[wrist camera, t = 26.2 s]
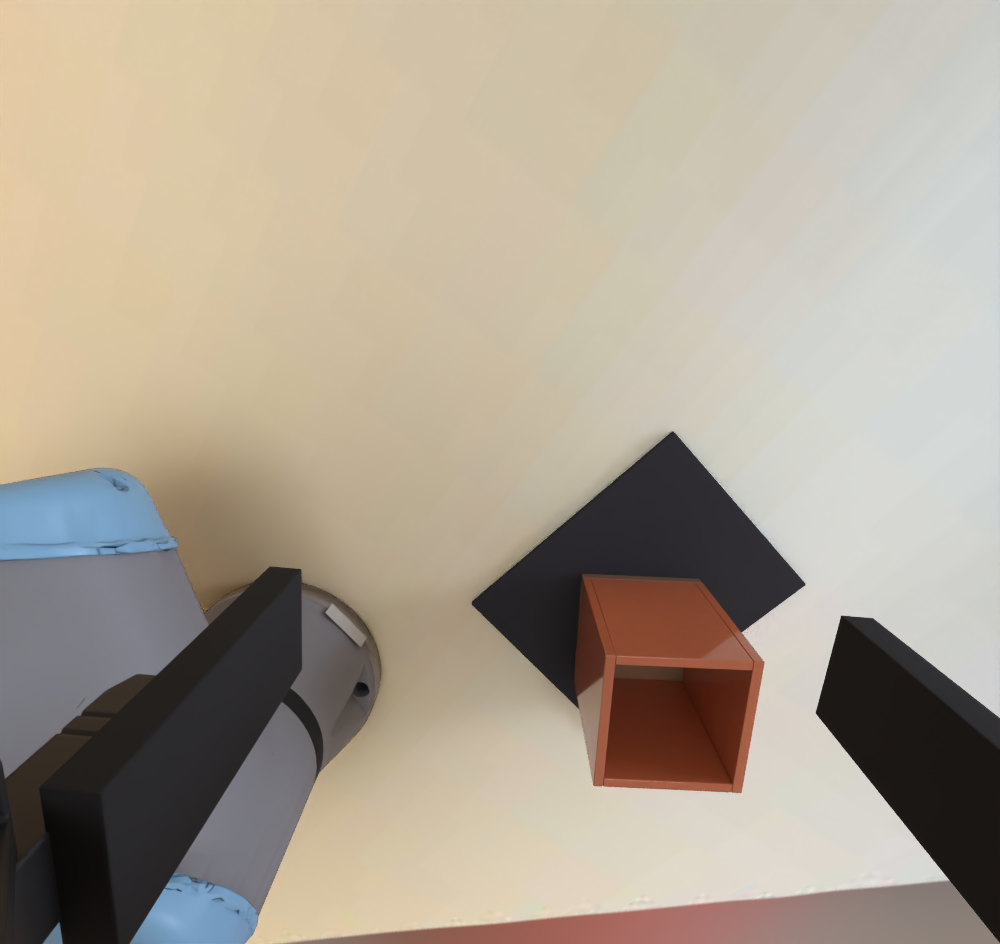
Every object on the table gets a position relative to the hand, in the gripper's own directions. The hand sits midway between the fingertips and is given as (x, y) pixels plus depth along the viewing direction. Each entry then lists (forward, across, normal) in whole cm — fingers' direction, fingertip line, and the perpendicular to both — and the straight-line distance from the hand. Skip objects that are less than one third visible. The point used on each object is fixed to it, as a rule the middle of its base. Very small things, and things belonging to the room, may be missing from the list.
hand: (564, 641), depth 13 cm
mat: (+27, +9, -11) cm, 31 cm away
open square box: (+21, +10, -19) cm, 30 cm away
